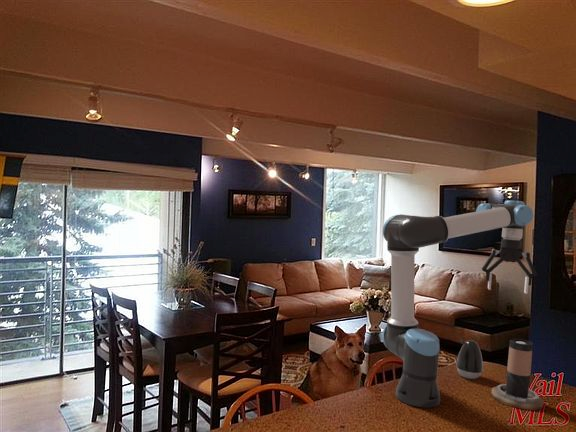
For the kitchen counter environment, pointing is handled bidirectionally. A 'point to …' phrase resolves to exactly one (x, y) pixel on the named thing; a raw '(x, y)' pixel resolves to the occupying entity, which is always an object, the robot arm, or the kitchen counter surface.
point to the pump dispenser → (469, 360)
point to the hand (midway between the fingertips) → (507, 291)
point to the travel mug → (519, 368)
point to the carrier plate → (517, 399)
